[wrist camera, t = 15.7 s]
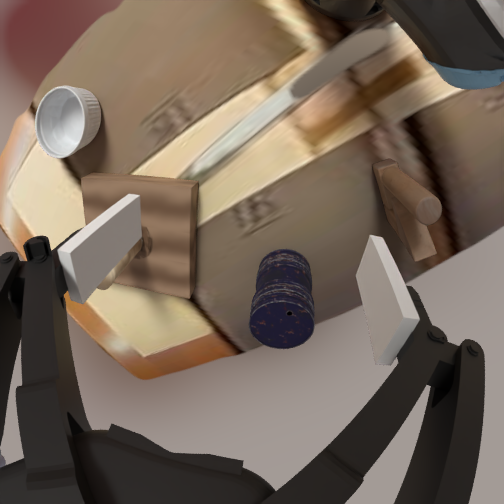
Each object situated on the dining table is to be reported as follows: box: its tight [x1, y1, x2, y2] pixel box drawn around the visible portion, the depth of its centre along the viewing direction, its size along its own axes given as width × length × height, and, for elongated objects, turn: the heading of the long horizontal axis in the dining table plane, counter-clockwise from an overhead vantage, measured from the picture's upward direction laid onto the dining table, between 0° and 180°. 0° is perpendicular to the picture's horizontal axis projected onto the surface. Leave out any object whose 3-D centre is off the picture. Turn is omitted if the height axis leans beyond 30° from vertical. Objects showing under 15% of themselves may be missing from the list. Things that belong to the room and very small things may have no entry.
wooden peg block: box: [372, 159, 442, 262], centre depth 37 cm, size 4×11×18 cm, turn 24°
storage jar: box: [249, 249, 315, 349], centre depth 48 cm, size 10×10×15 cm
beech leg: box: [97, 237, 144, 290], centre depth 47 cm, size 5×5×16 cm
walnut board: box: [81, 172, 198, 299], centre depth 52 cm, size 22×22×4 cm
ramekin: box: [35, 86, 101, 158], centre depth 41 cm, size 13×13×7 cm
